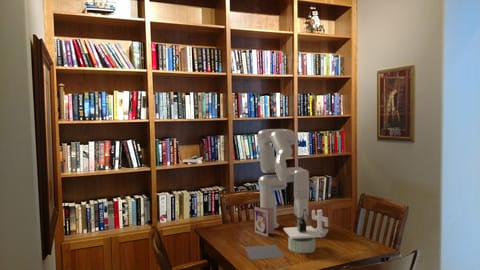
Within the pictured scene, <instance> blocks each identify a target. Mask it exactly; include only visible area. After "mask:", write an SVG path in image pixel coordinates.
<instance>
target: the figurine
mask: <svg viewBox="0 0 480 270" xmlns="http://www.w3.org/2000/svg"><path fill="white" fill-rule="evenodd" d="M311 219H312V220H314V221H316V223H317V226H316V227H315V228H314V229H315V230H316V231H317V232H318V233H320V234H321V237H317V238H318V239H324V238H325V237H326V235H327V233H328V232H329V229H328V227H329V218H328V217H327V216H323V209H320V208H319V209H317V210H315V209H312V210H311ZM323 222H324V227H325V228H323Z"/></svg>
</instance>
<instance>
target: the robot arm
mask: <svg viewBox="0 0 480 270" xmlns="http://www.w3.org/2000/svg"><path fill="white" fill-rule="evenodd" d="M256 137H257V138H256V139H257V145H258V148H259V155H260V156H259V160H260V161H259V162H260V163H259V164H260V170H261V172H262V173H265V174H266V175H262V176H259V177H258V188H259V196H260V197H259V199H260V200H259V201H260V203H259V204H260V206H259V207H263V208H274V230H275V229H278V228H279V226H280V224H279V223H278V222H277V198H276V195H275V194H274V193H273V191H281V190H285V189H287V185H288V183H292V182H293V197H294V199H293V200H294V201H293V214H294V216H295V217H296V219H300V231H306V226H307V221H308V217H309V199H308V198H309V197H310V188H309V187H310V179H309V178H310V175H309V172H310V171H309V170H307V169H304V168H302V167H300V166H296V167H294V166H293V167H287V162H286V160H287V159H289V158H290V157H291V156H292V154H293V149H292V145H294V144H295V143H296V142H297V135H296V133H295V132H294V130H292V129H287V128H286V129H285V128H270V129H262V130H260V131H258V133H257V136H256ZM275 152H276V155H277V156H275ZM271 173H273V174H271ZM275 173H276V174H275Z"/></svg>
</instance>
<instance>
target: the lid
mask: <svg viewBox="0 0 480 270" xmlns="http://www.w3.org/2000/svg"><path fill="white" fill-rule="evenodd" d="M296 219H297V218H296ZM296 221H297V222H296V226H294V227H292V226H290V227H283V231H284V232H285V233H286V234H287V235H288V237H289V236H290V238H291V239H298V238H313V237H315V238H318V237H321V234H320V233H318V232H317V231H316V230H315V228H314V227H313V226H312V225H306V231H300V219H297V220H296Z"/></svg>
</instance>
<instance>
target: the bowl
mask: <svg viewBox="0 0 480 270" xmlns="http://www.w3.org/2000/svg"><path fill="white" fill-rule="evenodd" d="M287 245H288V250H289V251H291V252H294V253H297V254H309V253H310V254H311V253H314V252H315V251H316V237H313V238H298V239H291V238H290V236H289V235H288V244H287Z"/></svg>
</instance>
